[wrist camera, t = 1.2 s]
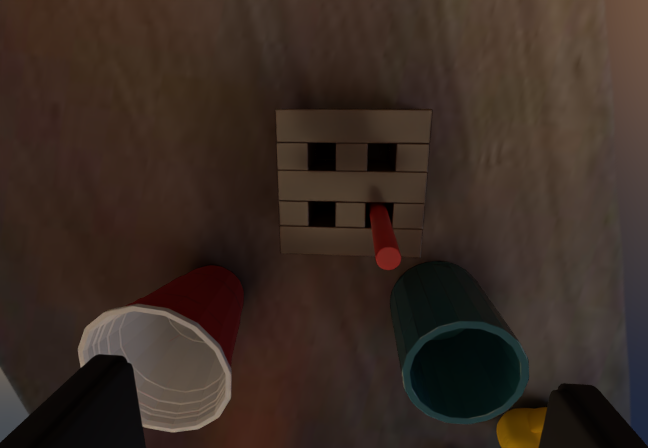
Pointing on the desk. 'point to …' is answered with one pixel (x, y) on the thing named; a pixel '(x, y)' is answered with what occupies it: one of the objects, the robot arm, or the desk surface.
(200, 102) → the desk surface
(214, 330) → the plastic cup
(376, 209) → the straw
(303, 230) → the straw stand
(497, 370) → the tumbler
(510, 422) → the duckling
